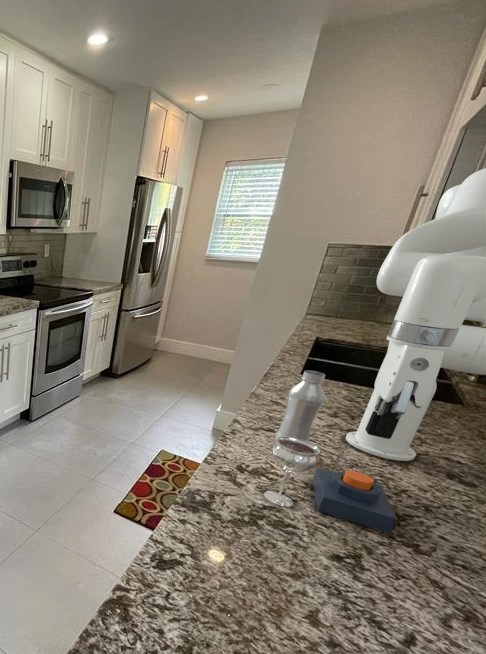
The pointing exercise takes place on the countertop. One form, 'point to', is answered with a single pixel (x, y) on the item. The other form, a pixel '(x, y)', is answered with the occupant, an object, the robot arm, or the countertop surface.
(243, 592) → the countertop surface
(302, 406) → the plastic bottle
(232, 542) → the countertop surface
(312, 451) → the wineglass
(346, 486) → the button base
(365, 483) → the orange button cap
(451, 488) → the countertop surface
